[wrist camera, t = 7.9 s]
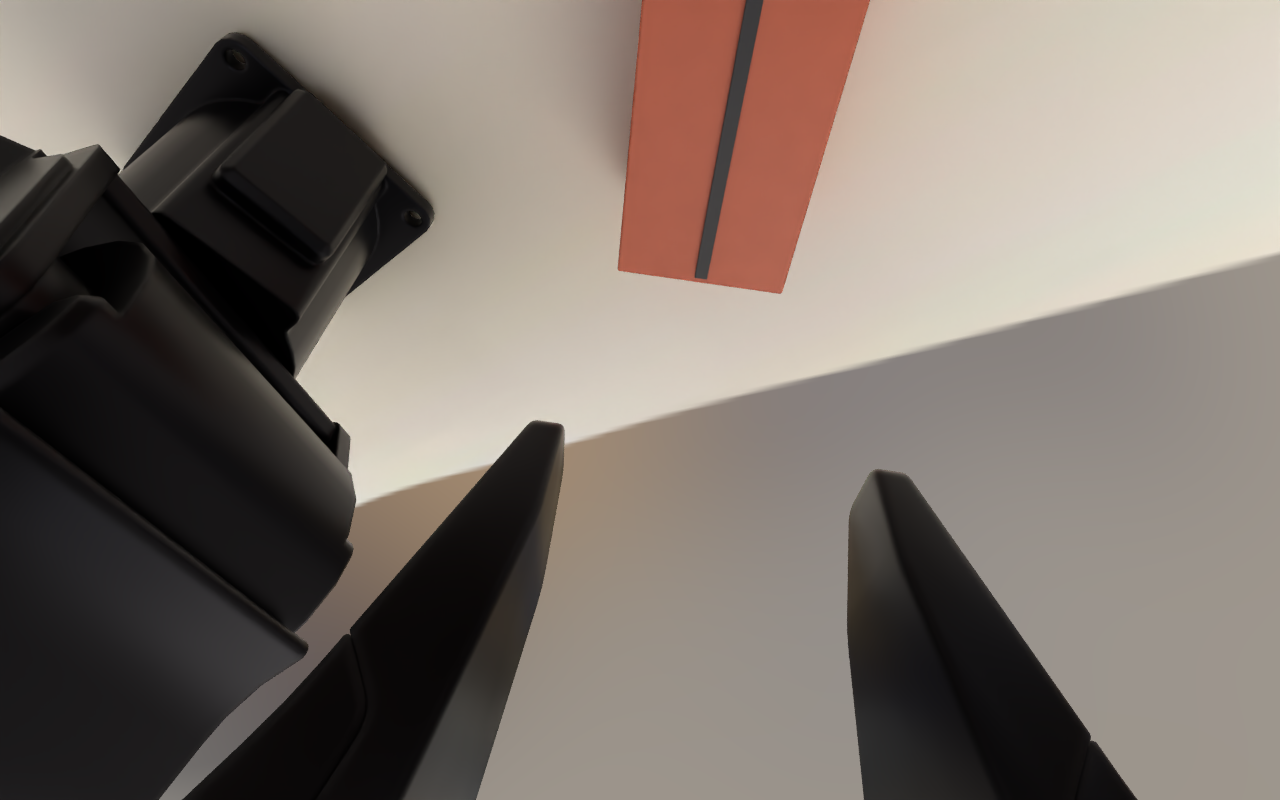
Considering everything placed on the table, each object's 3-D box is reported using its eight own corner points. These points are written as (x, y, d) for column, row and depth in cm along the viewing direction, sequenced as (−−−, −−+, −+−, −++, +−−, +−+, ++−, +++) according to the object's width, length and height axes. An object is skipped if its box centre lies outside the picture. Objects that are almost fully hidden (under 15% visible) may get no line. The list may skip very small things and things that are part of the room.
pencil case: (778, 213, 20) (781, 297, 18) (633, 192, 20) (616, 274, 18) (857, -82, 15) (878, -24, 12) (664, -110, 15) (646, -57, 12)
